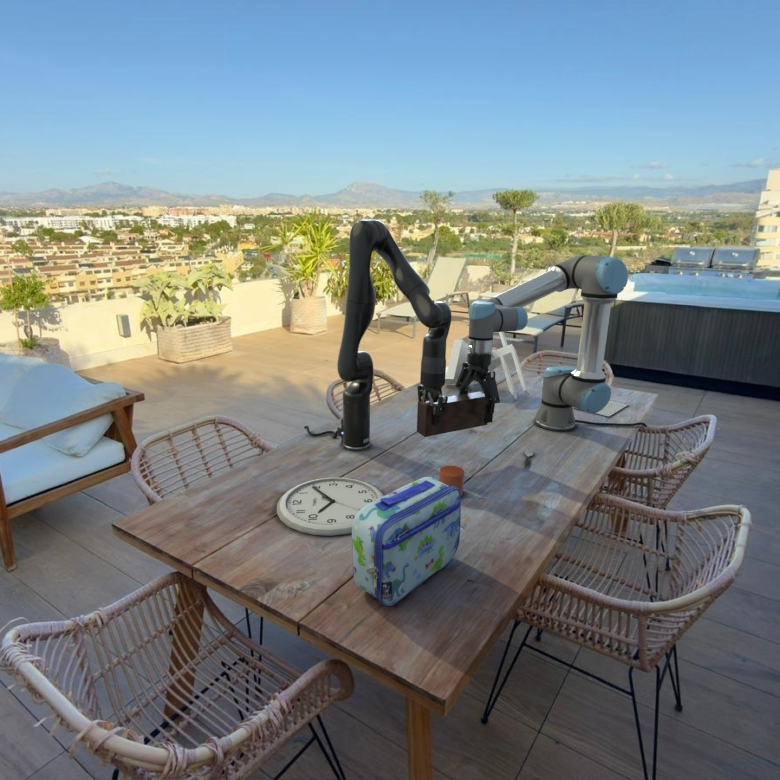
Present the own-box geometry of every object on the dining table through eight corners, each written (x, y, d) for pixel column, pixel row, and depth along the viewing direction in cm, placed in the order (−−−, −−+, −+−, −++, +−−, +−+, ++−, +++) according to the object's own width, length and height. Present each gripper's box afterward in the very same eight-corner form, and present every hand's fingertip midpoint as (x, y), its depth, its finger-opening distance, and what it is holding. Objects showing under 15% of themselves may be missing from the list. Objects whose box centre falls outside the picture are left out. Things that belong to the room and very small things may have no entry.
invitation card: (608, 416, 214) (573, 407, 224) (608, 416, 214) (573, 408, 224) (628, 404, 229) (594, 396, 238) (628, 405, 229) (594, 397, 238)
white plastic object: (461, 429, 252) (437, 405, 227) (444, 352, 274) (420, 323, 250) (535, 404, 240) (518, 377, 215) (510, 326, 262) (492, 293, 237)
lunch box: (381, 619, 101) (382, 525, 95) (345, 592, 109) (344, 503, 102) (464, 563, 119) (469, 480, 113) (428, 543, 126) (432, 464, 120)
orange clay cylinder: (462, 487, 154) (464, 466, 152) (463, 499, 147) (464, 477, 145) (438, 486, 154) (439, 464, 152) (438, 497, 148) (439, 475, 146)
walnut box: (478, 419, 175) (480, 391, 172) (487, 424, 171) (489, 395, 168) (416, 431, 164) (417, 401, 161) (425, 437, 160) (426, 406, 157)
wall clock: (392, 527, 129) (268, 531, 127) (391, 533, 130) (269, 537, 127) (383, 473, 158) (282, 475, 155) (383, 478, 158) (282, 480, 156)
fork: (520, 469, 166) (521, 463, 165) (526, 450, 180) (526, 444, 180) (528, 470, 165) (529, 464, 164) (533, 451, 179) (534, 445, 179)
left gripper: (410, 365, 161) (408, 416, 167) (435, 376, 149) (433, 432, 155) (430, 362, 165) (428, 413, 170) (457, 373, 153) (453, 428, 158)
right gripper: (447, 345, 172) (444, 406, 179) (495, 362, 152) (490, 430, 158) (465, 343, 176) (462, 402, 182) (515, 359, 155) (509, 426, 161)
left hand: (430, 421), depth 162 cm, fingers closed on walnut box, 5 cm apart
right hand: (475, 415), depth 170 cm, fingers open, 13 cm apart
